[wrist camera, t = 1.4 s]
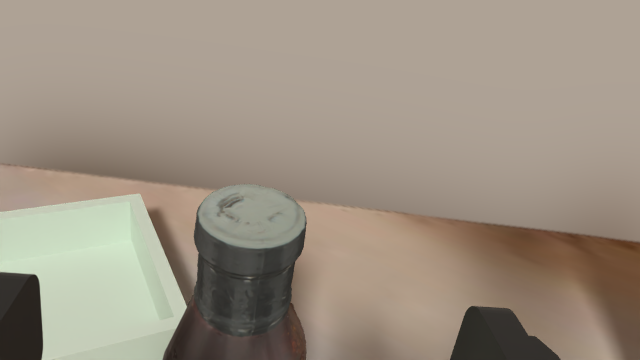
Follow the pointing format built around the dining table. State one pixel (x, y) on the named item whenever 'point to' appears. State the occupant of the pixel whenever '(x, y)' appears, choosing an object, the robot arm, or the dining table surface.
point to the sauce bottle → (243, 279)
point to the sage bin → (95, 278)
